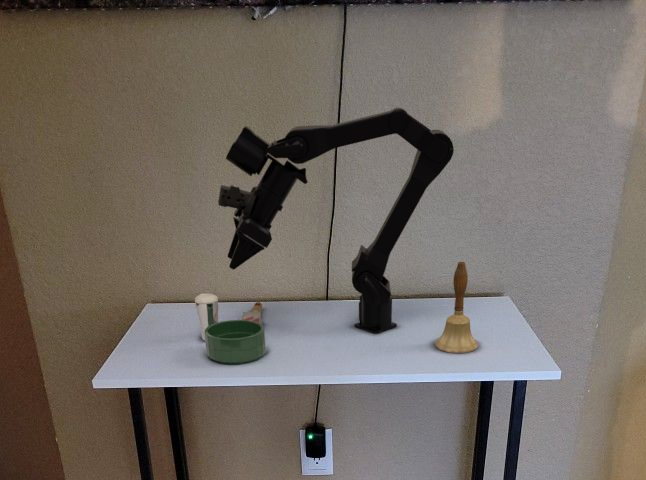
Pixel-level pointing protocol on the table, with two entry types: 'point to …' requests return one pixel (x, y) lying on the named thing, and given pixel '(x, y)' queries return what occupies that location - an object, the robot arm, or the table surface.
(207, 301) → the milkshake
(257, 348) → the bowl
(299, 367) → the table surface
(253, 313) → the paintbrush
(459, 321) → the hand bell
